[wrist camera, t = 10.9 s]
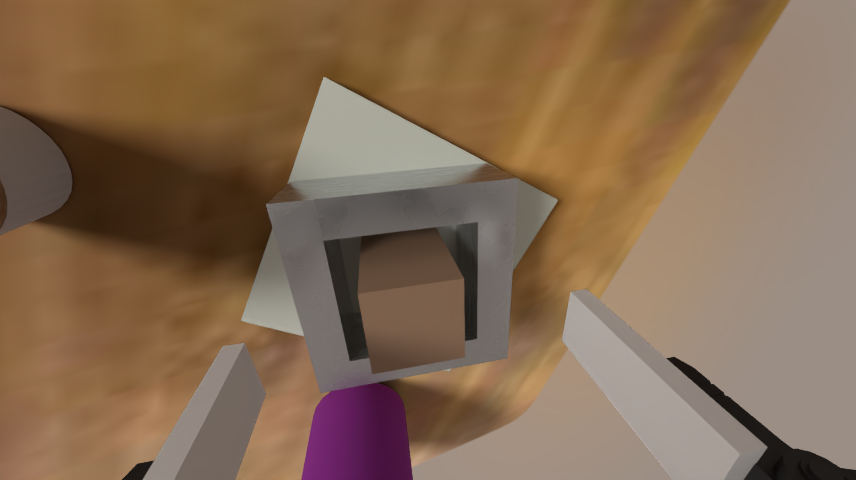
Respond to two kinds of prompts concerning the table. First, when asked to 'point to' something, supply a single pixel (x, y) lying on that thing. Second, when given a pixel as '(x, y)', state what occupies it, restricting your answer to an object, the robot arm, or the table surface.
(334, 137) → the post board
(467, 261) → the square frame
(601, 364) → the robot arm
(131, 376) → the table surface
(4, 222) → the coffee cup
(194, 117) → the table surface
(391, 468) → the beverage can
